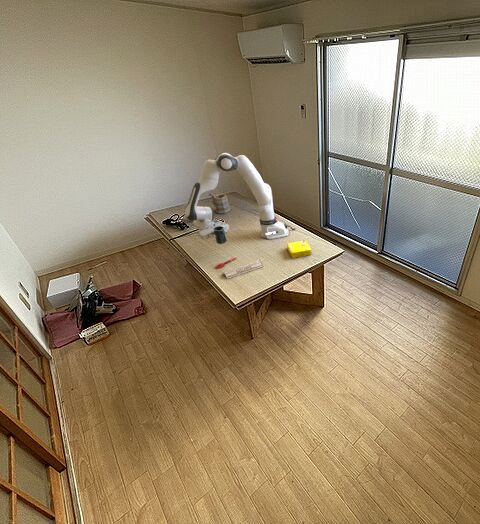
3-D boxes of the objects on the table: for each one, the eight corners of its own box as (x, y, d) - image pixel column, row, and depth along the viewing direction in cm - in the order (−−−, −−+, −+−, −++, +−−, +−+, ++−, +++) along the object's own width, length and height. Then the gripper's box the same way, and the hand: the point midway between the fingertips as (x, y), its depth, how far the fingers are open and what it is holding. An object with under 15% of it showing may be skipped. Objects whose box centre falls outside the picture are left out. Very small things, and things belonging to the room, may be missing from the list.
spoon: (234, 257, 197) (233, 256, 196) (237, 259, 195) (237, 258, 194) (215, 267, 187) (214, 265, 187) (218, 269, 185) (218, 268, 185)
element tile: (286, 248, 208) (286, 242, 205) (306, 244, 212) (305, 239, 209) (291, 258, 196) (290, 252, 193) (312, 254, 201) (311, 248, 198)
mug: (214, 241, 193) (211, 228, 187) (223, 238, 197) (220, 225, 191) (222, 246, 188) (219, 233, 182) (231, 242, 192) (228, 229, 186)
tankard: (233, 209, 265) (229, 194, 256) (222, 214, 256) (218, 198, 247) (219, 205, 273) (215, 190, 265) (208, 209, 265) (204, 194, 256)
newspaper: (258, 262, 193) (258, 259, 192) (262, 266, 188) (262, 264, 187) (224, 273, 182) (223, 271, 180) (227, 279, 177) (226, 276, 176)
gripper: (194, 230, 188) (205, 236, 181) (221, 219, 201) (232, 225, 194) (196, 238, 192) (207, 244, 185) (223, 227, 205) (234, 233, 198)
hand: (220, 234), depth 189 cm, fingers closed on mug, 7 cm apart
